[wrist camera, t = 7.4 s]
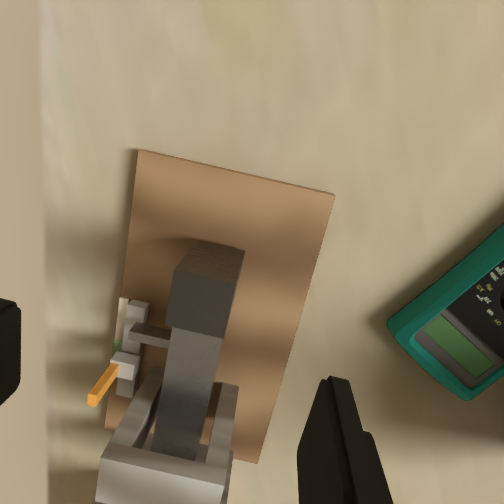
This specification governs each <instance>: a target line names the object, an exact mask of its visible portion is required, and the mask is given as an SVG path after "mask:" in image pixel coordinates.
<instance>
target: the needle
mask: <svg viewBox="0 0 504 504" xmlns="http://www.w3.org/2000/svg"><path fill="white" fill-rule="evenodd" d="M139 361H140V356H136V355H132V354H127V353H123V352H119V351H117V352H116V353H115V354H114V355H113V357H112V358H111V359H110V365H109V367H108V368H107V369H106V371H105V372H104V373H103V375H102V376H101V377H100V379H99V380H98V381H97V383H96V384H95V385H94V387H93V388H92V389H91V391H90V392H89V393H88V401H87V405H89V406H94V407H96V406H97V404H98V403H99V401H100V400H101V398H102V397H103V395H104V394H105V393H106V391H107V390H108V388H109V387H110V385H111V384H112V382H113V381H114V379H115V378H116V377H119V378H123V379H127V380H133V379H134V377H135V375H136V374H137V372H138V368H139Z"/></svg>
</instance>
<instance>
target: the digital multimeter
mask: <svg viewBox="0 0 504 504" xmlns="http://www.w3.org/2000/svg"><path fill="white" fill-rule="evenodd" d="M503 259H504V224H503V225H502V226H501V227H500V228H498V229H497V230H496V231H495V232H494V233H493V234H492V235H491V236H490V237H489V238H487V239H486V240H485V241H484V242H483V243H482V244H481V245H480V246H479V247H477V248H476V249H475V250H474V251H473V252H472V253H470V254H469V255H468V256H467V257H466V258H464V259H463V260H462V261H461V262H460V263H458V264H457V265H456V266H455V267H454V268H453V269H451V270H450V271H449V272H448V273H447V274H446V275H444V276H443V277H442V278H441V279H440V280H438V281H437V282H436V283H435V284H433V285H432V286H431V287H430V288H428V289H427V290H426V291H425V292H423V293H422V294H421V295H419V296H418V297H417V298H416V299H414V300H413V301H412V302H411V303H409V304H408V305H407V306H406V307H404V308H403V309H402V310H400V311H399V312H398V313H397V314H395V315H394V316H393V317H392V318H390V319H389V320H388V322H387V327H388V328H389V330H390V331H391V333H392V334H393V336H394V338H395V339H396V341H397V342H398V343H399V344H400V345H401V346H402V347H403V349H404V350H405V351H406V352H407V353H408V354H409V355H410V356H411V357H412V358H413V359H414V360H415V361H416V362H417V363H418V364H419V365H420V366H421V367H422V368H423V369H424V370H425V371H426V372H428V373H429V374H430V375H431V376H432V377H433V378H434V379H436V380H437V381H438V382H439V383H441V384H442V385H443V386H444V387H446V388H447V389H448V390H450V391H451V392H452V393H454V394H455V395H457V396H458V397H459V398H461V399H462V400H464V401H469V400H472V399H473V398H475V397H476V396H477V395H478V394H480V393H481V392H482V391H484V390H485V389H486V388H487V387H489V386H490V385H491V384H493V383H494V382H495V381H496V380H498V379H499V378H500V377H502V376H503V375H504V260H503ZM502 260H503V261H502ZM498 263H499V264H498ZM497 264H498V265H497ZM496 265H497V266H496ZM491 269H492V270H491ZM490 270H491V271H490ZM485 274H486V275H485ZM484 275H485V276H484ZM483 276H484V277H483ZM479 279H480V280H479ZM478 280H479V281H478ZM477 281H478V282H477ZM473 284H474V285H473ZM472 285H473V286H472ZM471 286H472V287H471ZM467 289H468V290H467ZM466 290H467V291H466ZM465 291H466V292H465ZM461 294H462V295H461ZM460 295H461V296H460ZM459 296H460V297H459ZM454 300H455V301H454ZM453 301H454V302H453ZM448 305H449V306H448ZM447 306H448V307H447Z"/></svg>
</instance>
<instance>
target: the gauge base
mask: <svg viewBox="0 0 504 504" xmlns="http://www.w3.org/2000/svg"><path fill="white" fill-rule="evenodd" d="M335 197H336V196H335V195H334V194H332V193H327V192H323V191H319V190H315V189H310V188H306V187H302V186H297V185H293V184H289V183H285V182H280V181H276V180H272V179H267V178H263V177H259V176H255V175H250V174H246V173H242V172H237V171H233V170H229V169H224V168H220V167H216V166H212V165H207V164H203V163H199V162H194V161H190V160H186V159H182V158H177V157H173V156H169V155H164V154H160V153H156V152H152V151H147V150H139V151H138V159H137V167H136V175H135V183H134V191H133V200H132V208H131V216H130V224H129V232H128V240H127V248H126V256H125V265H124V273H123V281H122V289H121V297H120V298H119V306H118V314H117V323H116V331H115V338H114V343H113V351H112V357H113V355H114V354H115V353H116V352H117V351H119V352H123V353H127V354H132V355H136V356H140V361H139V368H138V372H137V374H136V375H135V377H134V379H133V380H127V379H123V378H119V377H116V378H115V379H114V381H113V382H112V384H111V385H110V387H109V394H108V403H107V411H106V419H105V427H104V429H106V430H111V431H115V432H114V434H113V436H112V438H111V439H110V441H109V443H108V445H107V447H106V448H105V450H104V452H103V454H102V455H101V457H100V464H99V472H98V480H97V489H96V497H95V499H94V501H93V503H92V504H227V497H228V490H229V482H230V475H231V467H232V460H233V459H238V460H242V461H246V462H251V463H255V464H257V463H258V460H259V456H260V453H261V450H262V446H263V443H264V439H265V436H266V432H267V429H268V426H269V422H270V419H271V415H272V412H273V409H274V405H275V402H276V398H277V395H278V391H279V388H280V385H281V381H282V378H283V374H284V371H285V367H286V364H287V361H288V357H289V354H290V350H291V347H292V344H293V340H294V337H295V333H296V330H297V326H298V323H299V320H300V316H301V313H302V309H303V306H304V303H305V299H306V296H307V292H308V289H309V285H310V282H311V279H312V275H313V272H314V268H315V265H316V262H317V258H318V255H319V251H320V248H321V244H322V241H323V238H324V234H325V231H326V227H327V224H328V221H329V217H330V214H331V210H332V207H333V203H334V200H335ZM197 240H201V241H205V242H209V243H214V244H218V245H222V246H227V247H231V248H235V249H239V250H244V251H245V255H244V259H243V264H242V268H241V272H240V277H239V281H238V286H237V290H236V294H235V298H234V302H233V306H232V310H231V313H230V317H229V321H228V325H227V329H226V333H225V336H224V339H223V343H222V348H221V352H220V357H219V361H218V366H217V370H216V374H215V379H214V383H213V388H212V392H211V397H210V401H209V405H208V410H207V414H206V419H205V423H204V428H203V432H202V435H201V439H200V443H199V447H198V451H197V455H196V459H195V461H191V460H187V459H182V458H178V457H173V456H169V455H165V454H160V453H156V452H151V446H152V440H153V435H154V429H155V423H156V418H157V412H158V406H159V400H160V395H161V389H162V383H163V378H164V372H165V366H166V360H167V355H168V349H167V348H162V347H158V346H153V345H149V344H145V343H140V342H136V341H132V340H128V334H129V330H130V329H131V328H132V326H133V325H134V324H135V323H136V322H139V323H144V324H148V325H152V326H157V327H161V328H165V329H170V330H172V327H169V326H165V319H166V313H167V307H168V301H169V295H170V289H171V283H172V277H173V271H174V269H175V267H176V266H177V265H178V264H179V263H180V261H181V260H182V259H183V258H184V256H185V255H186V254H187V253H188V251H189V250H190V249H191V248H192V247H193V245H194V244H195V243H196V242H197Z"/></svg>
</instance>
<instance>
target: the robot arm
mask: <svg viewBox="0 0 504 504" xmlns="http://www.w3.org/2000/svg"><path fill="white" fill-rule="evenodd" d="M20 371H21V310H20V308H18V307H17V304H16V303H15V302H14V301H10V300H5V299H1V298H0V405H1V404H3V403H4V401H6V400H7V399H8V398H9V397H10V396H11V395H12V394H13V393H14V392H15V391H16V389H17V387H18V386H19V383H20V374H21V372H20ZM297 471H298V491H299V504H393V501H392V497H391V494H390V491H389V488H388V484H387V481H386V478H385V475H384V471H383V468H382V465H381V462H380V458H379V455H378V452H377V449H376V445H375V442H374V439H373V437H372V435H371V434H370V433H369V432H366V431H363V429H362V425H361V422H360V418H359V415H358V411H357V408H356V404H355V401H354V397H353V393H352V390H351V386H350V383H349V381H348V380H346V379H342V378H337V377H333V376H329V377H328V378H327V380H324V379H322V380H321V382H320V384H319V387H318V390H317V393H316V396H315V399H314V402H313V405H312V407H311V410H310V413H309V416H308V419H307V422H306V425H305V428H304V431H303V434H302V437H301V440H300V442H299V446H298V450H297Z"/></svg>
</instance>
